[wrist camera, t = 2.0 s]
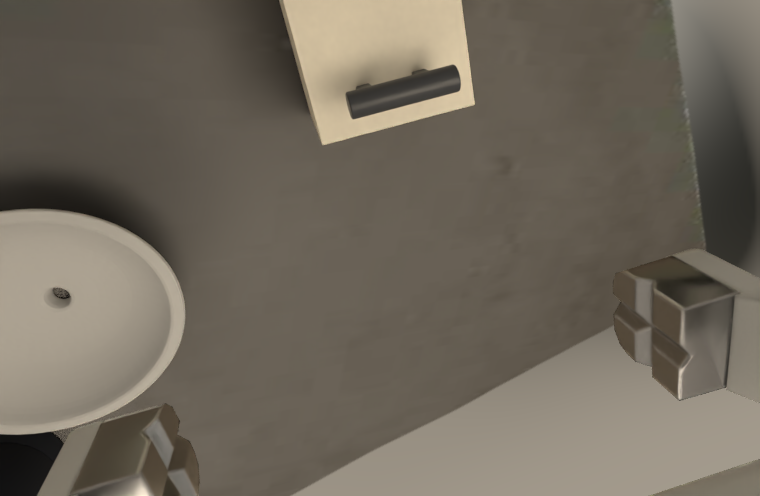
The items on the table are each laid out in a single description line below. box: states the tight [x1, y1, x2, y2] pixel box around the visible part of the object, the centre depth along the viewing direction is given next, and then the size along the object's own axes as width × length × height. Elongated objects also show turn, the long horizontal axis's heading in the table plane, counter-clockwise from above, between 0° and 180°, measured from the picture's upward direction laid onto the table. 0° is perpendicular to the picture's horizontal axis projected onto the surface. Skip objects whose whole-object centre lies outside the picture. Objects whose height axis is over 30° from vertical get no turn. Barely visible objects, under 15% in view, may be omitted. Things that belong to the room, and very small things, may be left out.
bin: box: [279, 0, 475, 145], centre depth 26 cm, size 11×8×11 cm
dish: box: [0, 209, 186, 435], centre depth 32 cm, size 18×14×5 cm
